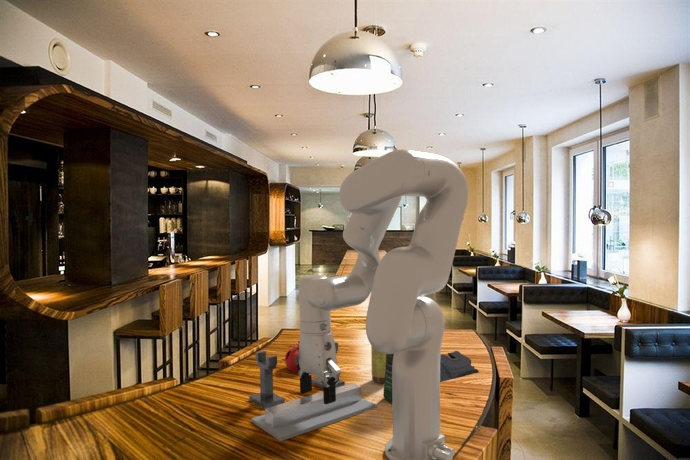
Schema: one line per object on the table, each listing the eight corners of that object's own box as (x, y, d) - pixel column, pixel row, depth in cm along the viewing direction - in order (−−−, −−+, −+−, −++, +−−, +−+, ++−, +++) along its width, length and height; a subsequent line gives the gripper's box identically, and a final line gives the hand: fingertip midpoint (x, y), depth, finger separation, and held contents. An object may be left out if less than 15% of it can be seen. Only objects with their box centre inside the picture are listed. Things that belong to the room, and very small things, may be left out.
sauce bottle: (391, 385, 135) (391, 315, 134) (370, 383, 136) (369, 315, 135) (394, 377, 141) (393, 311, 141) (373, 376, 142) (372, 311, 142)
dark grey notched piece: (397, 372, 147) (397, 357, 147) (448, 360, 159) (448, 346, 159) (431, 387, 134) (431, 370, 134) (484, 372, 146) (484, 357, 146)
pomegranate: (321, 367, 153) (321, 338, 152) (306, 376, 144) (306, 345, 143) (295, 363, 157) (295, 335, 157) (278, 371, 148) (279, 341, 148)
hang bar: (361, 400, 121) (360, 386, 121) (273, 428, 105) (272, 413, 105) (352, 396, 124) (352, 383, 124) (265, 423, 108) (265, 408, 108)
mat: (376, 407, 118) (376, 404, 118) (280, 441, 101) (280, 437, 101) (343, 393, 128) (343, 390, 128) (251, 421, 111) (251, 418, 111)
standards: (344, 385, 135) (344, 342, 134) (264, 409, 118) (263, 359, 118) (327, 378, 141) (327, 337, 140) (249, 400, 124) (248, 353, 124)
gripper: (350, 329, 110) (352, 403, 110) (307, 320, 123) (309, 385, 123) (324, 334, 105) (326, 411, 105) (283, 324, 118) (285, 392, 118)
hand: (317, 397), depth 114 cm, fingers open, 9 cm apart
